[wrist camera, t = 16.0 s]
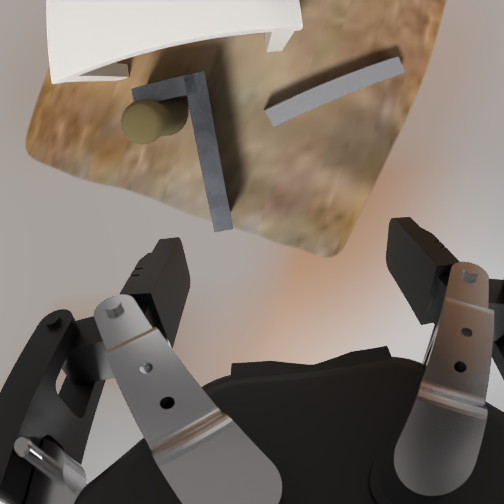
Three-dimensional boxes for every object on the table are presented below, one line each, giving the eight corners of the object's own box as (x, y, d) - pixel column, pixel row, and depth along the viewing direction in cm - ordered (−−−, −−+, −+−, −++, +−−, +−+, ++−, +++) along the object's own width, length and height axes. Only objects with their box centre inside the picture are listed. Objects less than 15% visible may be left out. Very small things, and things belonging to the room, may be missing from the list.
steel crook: (205, 75, 35) (204, 71, 30) (230, 212, 45) (233, 228, 40) (142, 90, 35) (131, 88, 30) (173, 223, 45) (168, 241, 40)
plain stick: (396, 72, 34) (405, 72, 32) (272, 124, 39) (273, 127, 36) (389, 57, 33) (398, 56, 31) (263, 109, 38) (264, 110, 35)
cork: (142, 99, 37) (108, 104, 27) (184, 89, 36) (160, 89, 27) (150, 139, 40) (119, 156, 30) (191, 131, 39) (170, 144, 30)
